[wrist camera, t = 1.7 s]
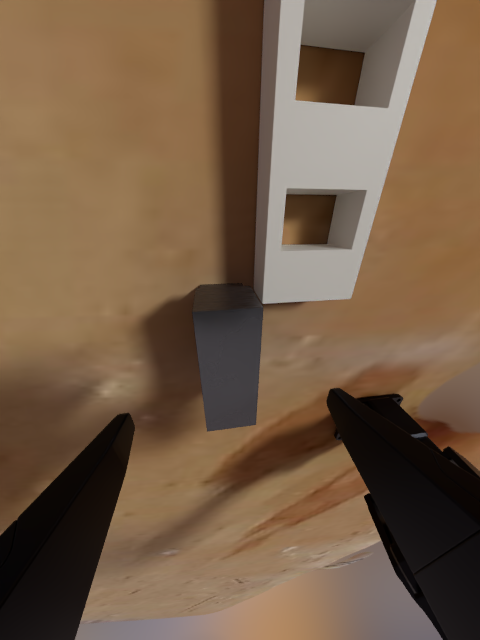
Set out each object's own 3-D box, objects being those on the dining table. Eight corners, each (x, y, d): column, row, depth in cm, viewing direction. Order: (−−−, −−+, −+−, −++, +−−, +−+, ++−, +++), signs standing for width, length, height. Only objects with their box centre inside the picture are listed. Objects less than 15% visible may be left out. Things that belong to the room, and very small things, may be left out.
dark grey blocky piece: (242, 368, 17) (255, 424, 12) (207, 371, 16) (207, 431, 12) (243, 275, 13) (263, 307, 8) (197, 277, 13) (192, 311, 8)
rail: (328, 286, 14) (350, 298, 12) (253, 289, 13) (262, 303, 11) (405, -58, 8) (484, -168, 5) (267, -88, 7) (295, -228, 5)
